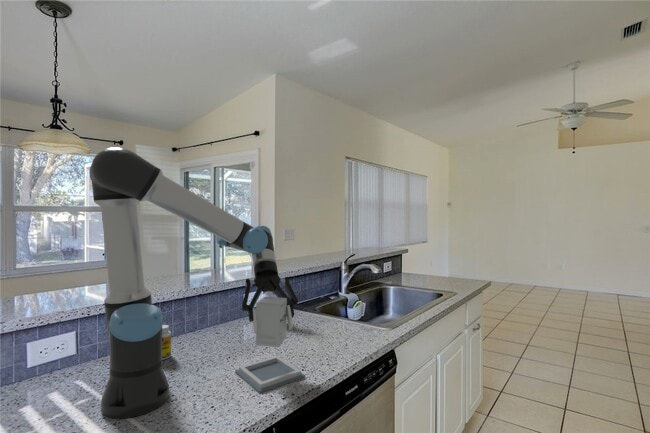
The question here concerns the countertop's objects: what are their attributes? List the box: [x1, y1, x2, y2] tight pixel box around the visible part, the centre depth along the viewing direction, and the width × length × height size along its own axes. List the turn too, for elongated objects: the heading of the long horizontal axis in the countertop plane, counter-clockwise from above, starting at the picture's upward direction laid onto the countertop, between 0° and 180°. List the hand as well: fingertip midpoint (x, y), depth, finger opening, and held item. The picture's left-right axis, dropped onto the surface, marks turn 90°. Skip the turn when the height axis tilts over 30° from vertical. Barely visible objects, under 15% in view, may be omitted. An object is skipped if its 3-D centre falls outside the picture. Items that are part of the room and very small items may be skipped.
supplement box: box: [255, 296, 288, 348], centre depth 104 cm, size 7×7×13 cm
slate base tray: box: [234, 355, 306, 394], centre depth 104 cm, size 15×15×2 cm
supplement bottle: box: [162, 324, 172, 361], centre depth 115 cm, size 6×6×10 cm
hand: (273, 329), depth 101 cm, fingers closed on supplement box, 10 cm apart
